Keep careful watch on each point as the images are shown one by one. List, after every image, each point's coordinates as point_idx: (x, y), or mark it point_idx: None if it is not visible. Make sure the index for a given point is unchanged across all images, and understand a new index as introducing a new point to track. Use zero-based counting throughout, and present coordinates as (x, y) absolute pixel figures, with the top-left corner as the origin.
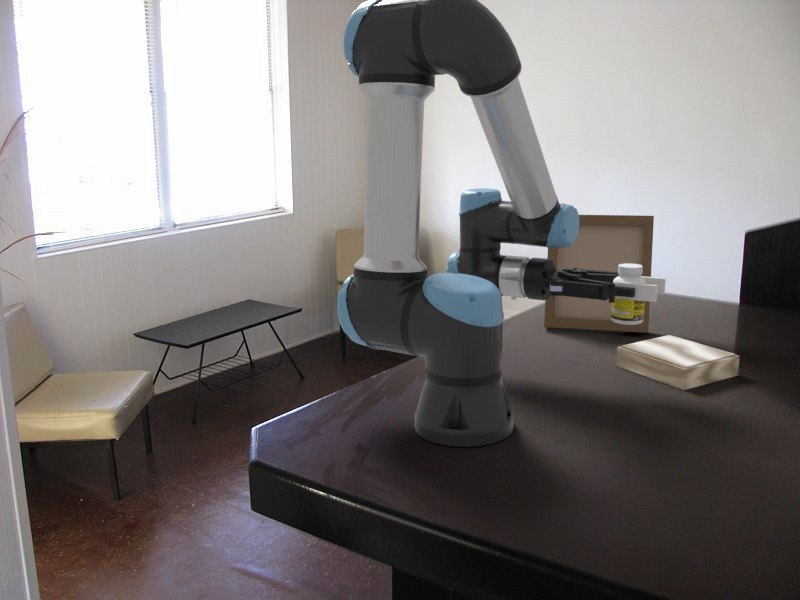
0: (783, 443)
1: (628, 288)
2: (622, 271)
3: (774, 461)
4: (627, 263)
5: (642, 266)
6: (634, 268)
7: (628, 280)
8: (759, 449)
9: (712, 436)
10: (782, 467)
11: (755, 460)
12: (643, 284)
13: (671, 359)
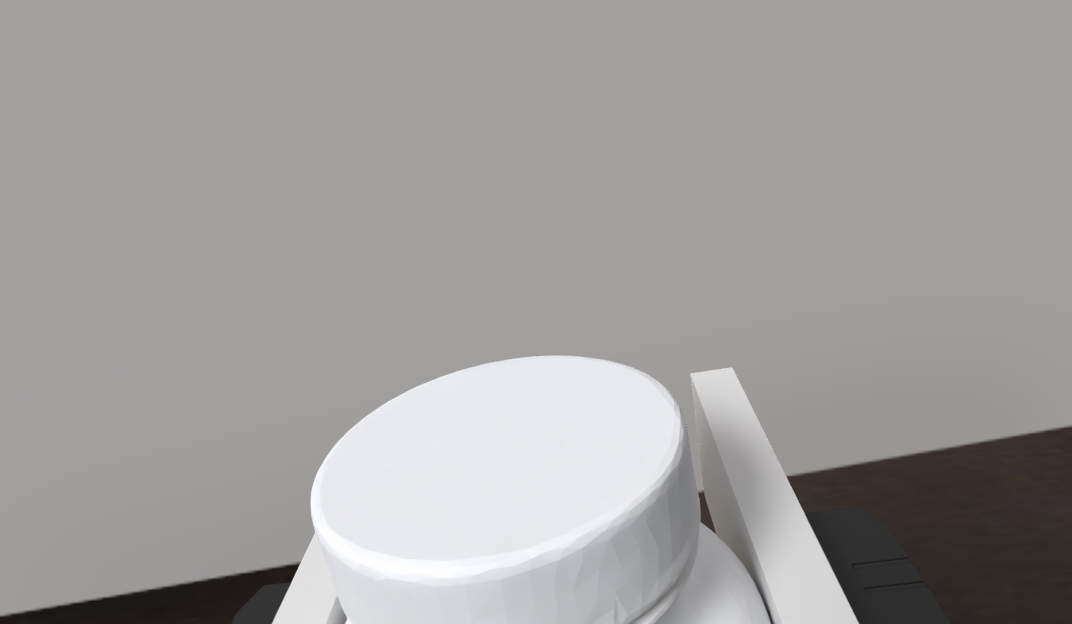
0: (864, 477)
1: (885, 549)
2: (688, 524)
3: (1005, 466)
4: (328, 510)
5: (490, 363)
6: (645, 375)
7: (702, 556)
8: (963, 500)
9: (1001, 605)
10: (1023, 450)
11: (1050, 490)
12: (742, 434)
13: None
